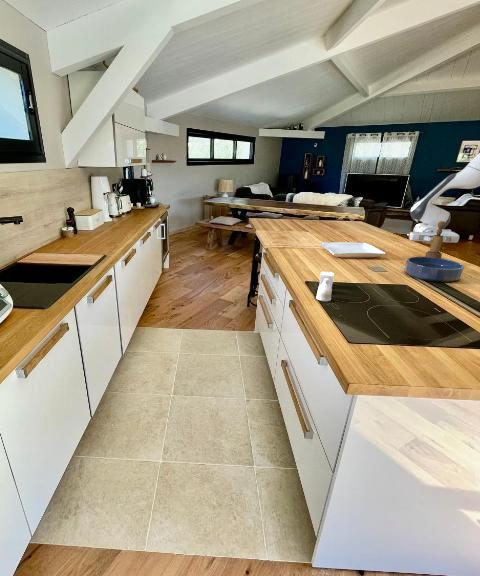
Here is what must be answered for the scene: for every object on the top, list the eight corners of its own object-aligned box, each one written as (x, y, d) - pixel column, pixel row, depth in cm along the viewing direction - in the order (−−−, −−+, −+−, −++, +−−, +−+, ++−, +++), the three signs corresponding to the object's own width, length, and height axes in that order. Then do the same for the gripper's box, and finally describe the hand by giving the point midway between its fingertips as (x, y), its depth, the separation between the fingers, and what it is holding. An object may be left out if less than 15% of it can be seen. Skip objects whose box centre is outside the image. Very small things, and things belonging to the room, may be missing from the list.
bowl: (450, 270, 147) (453, 258, 145) (468, 285, 129) (472, 271, 127) (399, 267, 154) (402, 255, 152) (410, 280, 136) (413, 266, 134)
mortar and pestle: (422, 255, 159) (431, 220, 153) (436, 256, 158) (446, 220, 152) (428, 259, 153) (438, 222, 147) (443, 259, 152) (453, 222, 146)
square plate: (364, 248, 191) (365, 241, 190) (385, 260, 166) (387, 252, 164) (318, 247, 194) (319, 241, 192) (332, 259, 168) (333, 252, 167)
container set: (319, 283, 134) (320, 271, 132) (332, 284, 132) (334, 272, 130) (315, 300, 117) (317, 286, 115) (330, 302, 115) (332, 288, 113)
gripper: (407, 228, 166) (414, 232, 154) (454, 229, 159) (465, 234, 147) (404, 239, 168) (411, 245, 156) (450, 241, 162) (461, 247, 149)
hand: (437, 240), depth 152 cm, fingers closed on mortar and pestle, 4 cm apart
